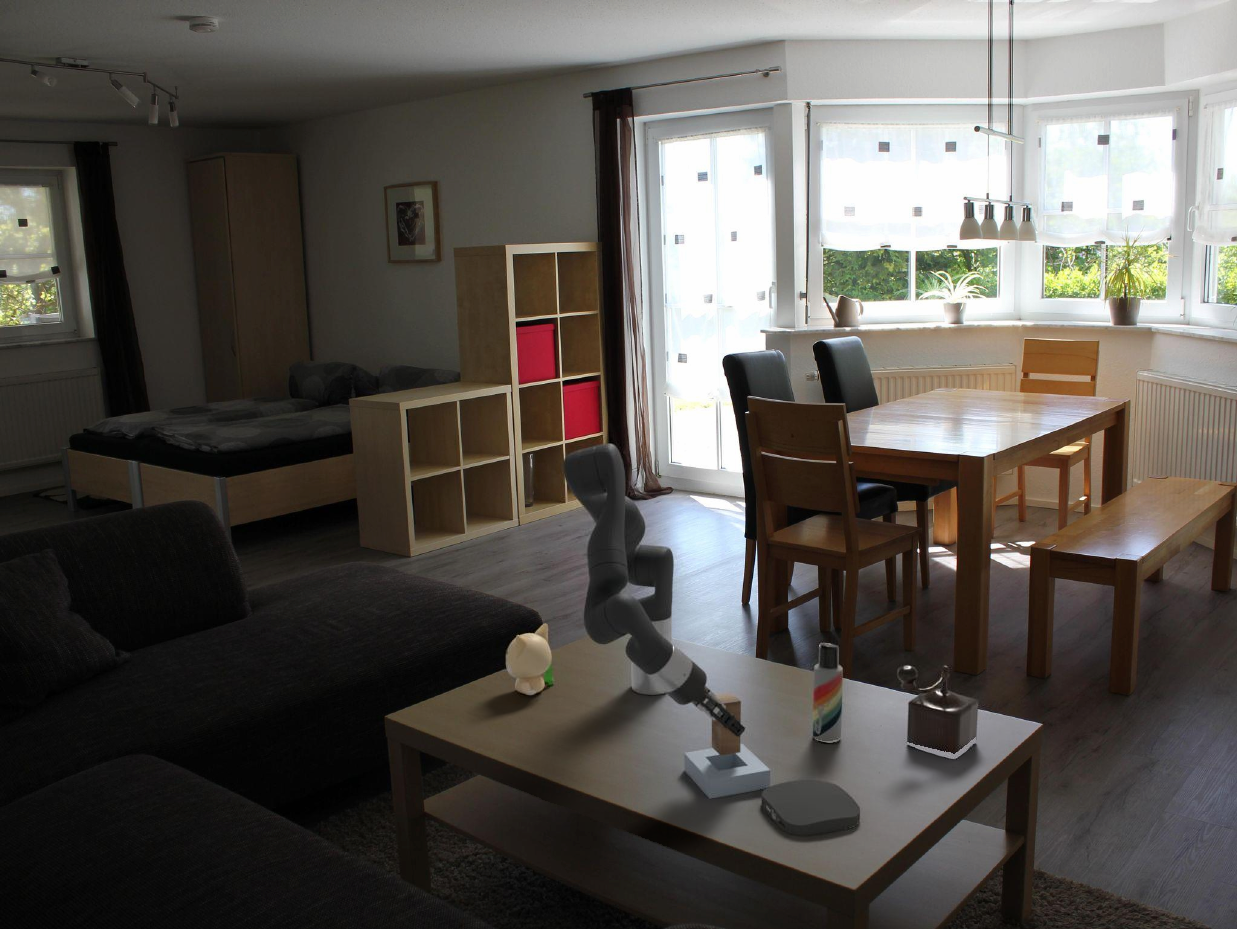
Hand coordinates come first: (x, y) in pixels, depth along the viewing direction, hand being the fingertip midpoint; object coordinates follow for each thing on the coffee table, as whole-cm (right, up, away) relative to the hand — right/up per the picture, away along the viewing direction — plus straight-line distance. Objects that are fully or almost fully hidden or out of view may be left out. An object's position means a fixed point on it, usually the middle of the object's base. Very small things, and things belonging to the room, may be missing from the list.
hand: (735, 727), depth 198 cm
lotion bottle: (+20, -7, +18) cm, 28 cm away
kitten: (-42, -3, +45) cm, 61 cm away
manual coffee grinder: (+41, -8, +13) cm, 43 cm away
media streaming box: (+12, -13, -11) cm, 21 cm away
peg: (-2, -4, 0) cm, 5 cm away
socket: (-2, -10, +1) cm, 10 cm away
